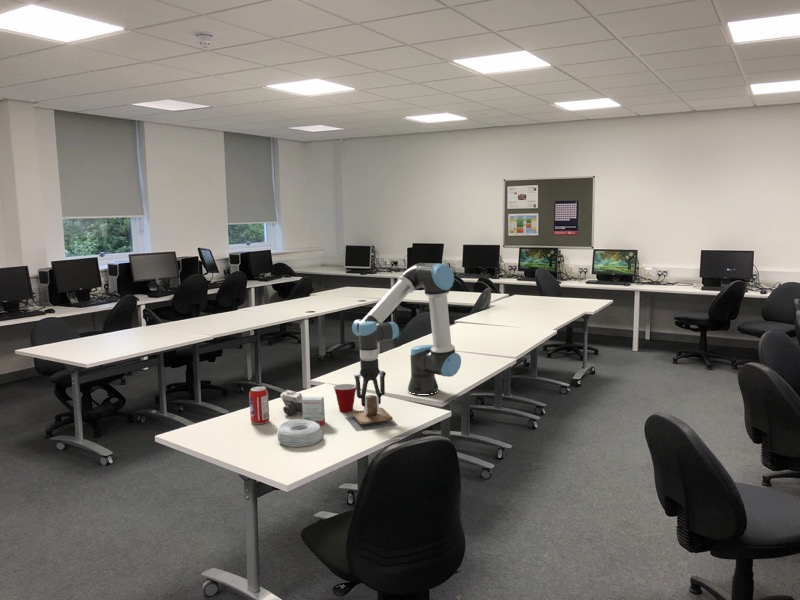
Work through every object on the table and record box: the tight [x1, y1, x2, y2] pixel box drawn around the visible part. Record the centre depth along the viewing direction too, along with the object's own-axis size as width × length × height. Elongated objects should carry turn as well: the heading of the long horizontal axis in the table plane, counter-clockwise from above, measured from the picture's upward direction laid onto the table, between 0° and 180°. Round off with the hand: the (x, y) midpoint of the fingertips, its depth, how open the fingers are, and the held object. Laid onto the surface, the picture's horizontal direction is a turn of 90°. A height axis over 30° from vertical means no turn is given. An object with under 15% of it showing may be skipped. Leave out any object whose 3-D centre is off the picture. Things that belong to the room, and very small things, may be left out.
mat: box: [345, 416, 399, 432], centre depth 254 cm, size 18×18×1 cm
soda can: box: [248, 386, 270, 425], centre depth 258 cm, size 8×8×15 cm
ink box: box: [302, 396, 326, 427], centre depth 253 cm, size 9×5×12 cm, turn 84°
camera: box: [280, 389, 305, 417], centre depth 268 cm, size 9×16×10 cm, turn 48°
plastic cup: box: [333, 383, 356, 413], centre depth 269 cm, size 11×11×12 cm
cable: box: [276, 419, 323, 448], centre depth 237 cm, size 18×18×6 cm
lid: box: [350, 394, 394, 424], centre depth 254 cm, size 14×14×9 cm
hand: (371, 412), depth 254 cm, fingers closed on lid, 4 cm apart
